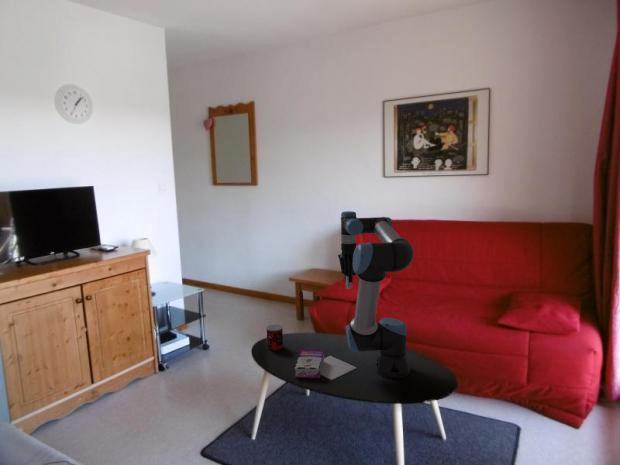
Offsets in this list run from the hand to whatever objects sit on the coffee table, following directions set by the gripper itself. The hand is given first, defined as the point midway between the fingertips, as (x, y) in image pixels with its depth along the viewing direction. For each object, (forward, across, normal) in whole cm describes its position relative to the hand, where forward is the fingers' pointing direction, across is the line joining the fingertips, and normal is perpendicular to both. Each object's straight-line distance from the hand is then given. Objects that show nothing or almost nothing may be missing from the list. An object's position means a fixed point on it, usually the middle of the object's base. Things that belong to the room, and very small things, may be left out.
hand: (348, 288), depth 221 cm
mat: (+29, -13, +26) cm, 41 cm away
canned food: (+30, +22, +31) cm, 48 cm away
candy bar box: (+26, -2, +28) cm, 38 cm away
